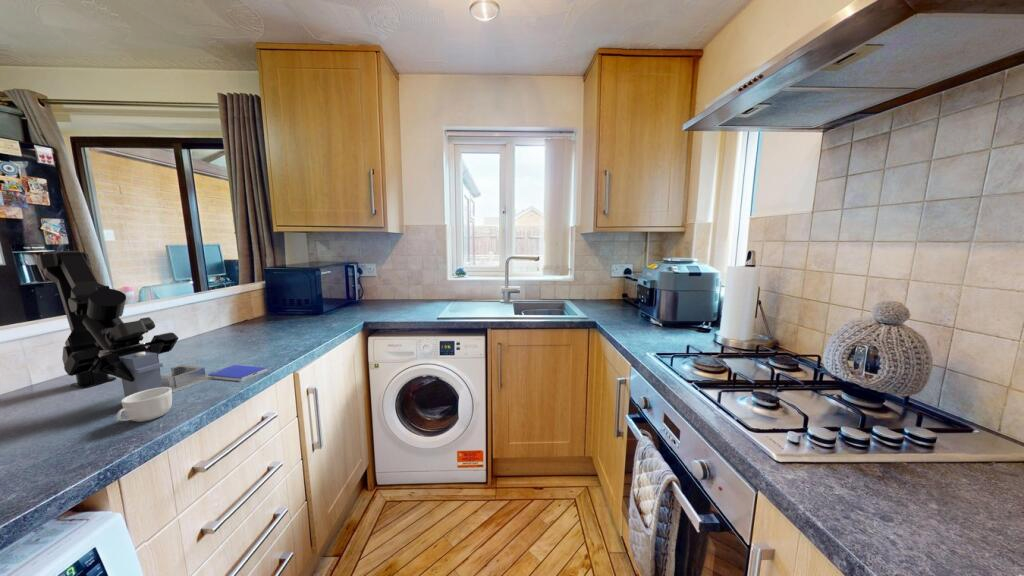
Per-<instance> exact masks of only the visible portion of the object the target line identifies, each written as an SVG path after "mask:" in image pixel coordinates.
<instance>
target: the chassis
mask: <svg viewBox="0 0 1024 576" xmlns="http://www.w3.org/2000/svg"><path fill="white" fill-rule="evenodd" d="M205 370H206V369H205V367H202V366H201V367H200V366H194V365H186V364H182V365H177V366H174V367H173V366H172V367H170V371H171V372H170V374H168V375H162V374H160V375H161V381H162V387H170V388H171V389H172V394H173V393H177V392H179V391H181V390H184V389H187V388H191V387H193V386H196V385H199V384H202V383H205V382H207V381H211V380H213V379H214V376H211V375H208V373H207V374H206V371H205Z"/></svg>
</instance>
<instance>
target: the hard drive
mask: <svg viewBox="0 0 1024 576" xmlns="http://www.w3.org/2000/svg"><path fill="white" fill-rule="evenodd" d="M268 370H269V368H268V367H264V366H263V367H261V366H251V365H241V364H233V365H230V366H228V367H227V366H226V367H224V368H221V369H218V370H216V371H213V372H212V371H211V372H210V373H207V375H211V376H214V379H215V380H216V379H217V380H226V381H233V382H234V381H237V382H244V381H246V380H248V379H250V378H253V377H255V376H258V375H261V374H263V373H265V372H267V371H268Z"/></svg>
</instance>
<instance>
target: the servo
mask: <svg viewBox="0 0 1024 576" xmlns="http://www.w3.org/2000/svg"><path fill="white" fill-rule="evenodd" d="M119 358H120V361H121V362H122V363H123V365H124V366H125V367H126V368H127V369H128V370H129V371H130V372H131V374H132V375H133V377H134V381H133V382H130V381H127V380H124V379H122V378H121V383H122V388H123V394H124V398H125V397H127V396H129V395H132V394H134V393H137V392H141V391H144V390H149V389H153V388H160V387H162V381H161V375H162V374H161V368H163V366H164V365H163V363H162V362H161V363H160V362H159V363H158V358H159V355H158V356H157V353H151V352H139V353H134V354H130V355H126V356H122V357H119ZM159 368H160V369H159Z"/></svg>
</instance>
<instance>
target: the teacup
mask: <svg viewBox="0 0 1024 576" xmlns="http://www.w3.org/2000/svg"><path fill="white" fill-rule="evenodd" d="M121 405H122V408H121V409H119V410H118V412H117V413H116V419H117V421H121V422H122V421H123V422H124V421H125V422H126V421H133V422H139V423H142V422H148V421H153V420H156V419H158V418H160V417H162V416H164V415H165V414H166V413H167V414H168V412H169V411H170V410H171V407H172V405H173V393H172V389H171V388H170V387H160V388H153V389H149V390H144V391H141V392H137V393H134V394H132V395H129V396H127V397H125V396H124V397H123V398H122V399H121ZM122 413H124V415H125V416H126V418H122V416H121V415H122Z"/></svg>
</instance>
